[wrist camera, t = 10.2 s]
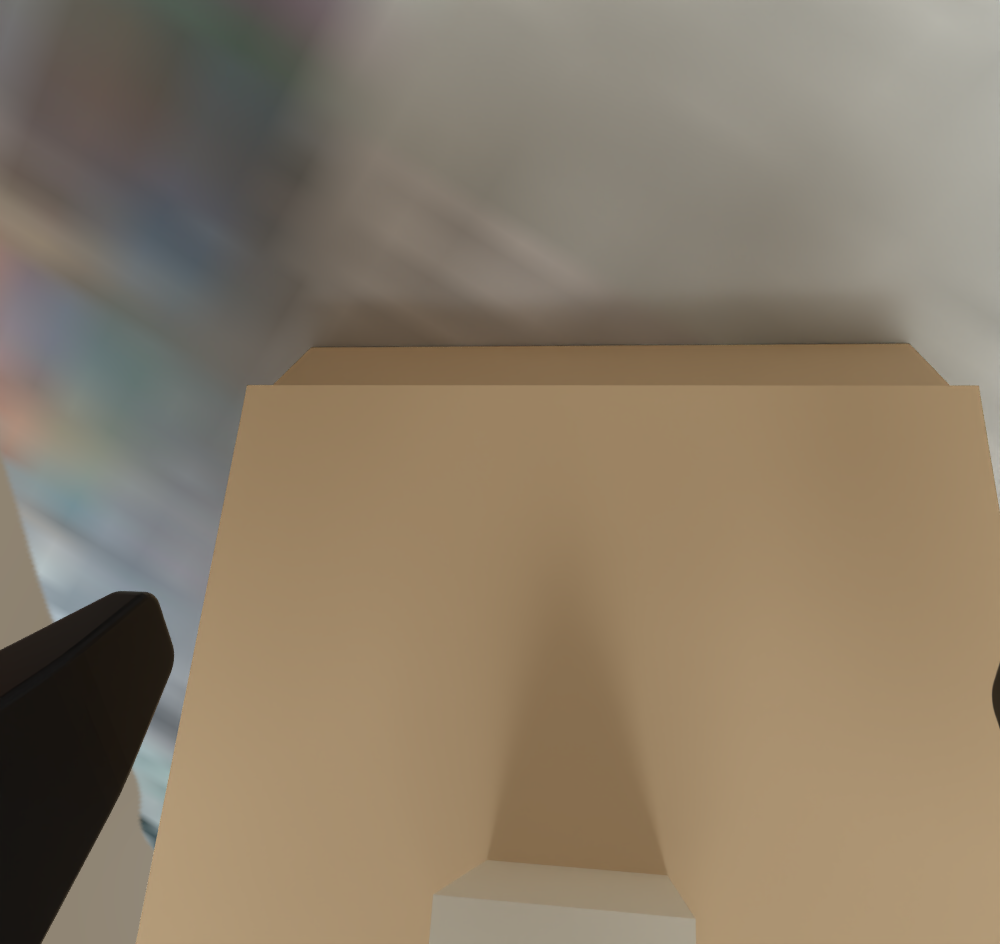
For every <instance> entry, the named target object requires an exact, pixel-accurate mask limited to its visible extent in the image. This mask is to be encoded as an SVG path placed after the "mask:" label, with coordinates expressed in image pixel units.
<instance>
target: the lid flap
mask: <svg viewBox="0 0 1000 944" xmlns="http://www.w3.org/2000/svg"><path fill="white" fill-rule="evenodd" d="M999 663H1000V511H999V505H998V499H997V493H996V487H995V481H994V475H993V469H992V463H991V457H990V451H989V445H988V439H987V433H986V427H985V421H984V415H983V409H982V403H981V397H980V391H979V386H750V385H247V389H246V394H245V399H244V404H243V409H242V414H241V419H240V424H239V429H238V434H237V439H236V444H235V449H234V454H233V459H232V464H231V469H230V474H229V479H228V484H227V489H226V494H225V499H224V504H223V509H222V514H221V519H220V524H219V529H218V534H217V539H216V544H215V549H214V554H213V559H212V564H211V569H210V574H209V579H208V584H207V589H206V594H205V599H204V604H203V609H202V614H201V619H200V624H199V629H198V634H197V639H196V644H195V649H194V654H193V659H192V664H191V669H190V674H189V679H188V684H187V689H186V694H185V699H184V704H183V709H182V714H181V719H180V724H179V729H178V734H177V739H176V744H175V749H174V754H173V759H172V764H171V769H170V774H169V779H168V784H167V789H166V794H165V799H164V804H163V809H162V814H161V819H160V824H159V829H158V834H157V839H156V844H155V849H154V854H153V859H152V864H151V869H150V874H149V880H148V884H147V889H146V894H145V900H144V904H143V909H142V915H141V919H140V925H139V929H138V934H137V939H136V944H1000V728H999V725H998V722H997V719H996V716H995V713H994V709H993V704H992V686H993V682H994V679H995V676H996V673H997V669H998V666H999Z"/></svg>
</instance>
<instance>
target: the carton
mask: <svg viewBox="0 0 1000 944" xmlns="http://www.w3.org/2000/svg"><path fill="white" fill-rule="evenodd" d="M273 385H750V386H950V385H949V384H948V383H947V382H946V381H945V380H944V379H943V378H942V377H941V376H940V375H939V374H938V373H937V372H936V371H935V370H934V369H933V367H932V366H931V365H930V364H929V363H928V362H927V361H926V360H925V359H924V358H923V357H922V356H921V355H920V354H919V353H918V352H917V351H916V350H915V349H914V348H913V347H912V346H911V345H910V344H774V345H619V346H464V347H311V348H310V349H309V350H308V351H307V352H306V353H305V354H304V355H303V356H302V357H301V358H300V359H299V360H298V361H297V362H296V363H295V364H294V365H293V366H292V367H291V368H290V369H289V370H288V371H287V372H286V373H285V374H284V375H283V376H282V377H281V378H280V379H279V380H278V381H276V382H275V383H274V384H273Z"/></svg>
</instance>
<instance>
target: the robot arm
mask: <svg viewBox="0 0 1000 944" xmlns="http://www.w3.org/2000/svg"><path fill="white" fill-rule="evenodd" d="M173 662H174V649H173V645H172V642H171V638H170V635H169V632H168V629H167V626H166V623H165V620H164V617H163V614H162V611H161V608H160V604H159V602H158V600H157V599H156V597H155V596H154V595H153V594H151V593H148V592H134V591H118V592H114V593H111V594H109V595H107V596H105V597H103V598H101V599H99V600H97V601H95V602H94V603H92V604H90V605H88V606H86V607H84V608H82V609H80V610H78V611H76V612H74V613H72V614H70V615H68V616H66V617H64V618H62V619H60V620H58V621H56V622H54V623H52V624H50V625H49V626H47V627H45V628H43V629H41V630H39V631H37V632H35V633H33V634H31V635H29V636H27V637H25V638H23V639H21V640H19V641H17V642H16V643H13V644H12V645H9V646H7V647H6V648H4V649H2V650H0V944H41V943H42V941H43V939H44V937H45V936H46V934H47V932H48V930H49V928H50V926H51V924H52V922H53V921H54V919H55V917H56V915H57V913H58V911H59V909H60V907H61V906H62V904H63V902H64V900H65V898H66V896H67V894H68V892H69V890H70V889H71V887H72V885H73V883H74V881H75V879H76V877H77V875H78V873H79V872H80V870H81V868H82V866H83V864H84V862H85V860H86V858H87V857H88V855H89V853H90V851H91V849H92V847H93V845H94V843H95V841H96V840H97V838H98V836H99V834H100V832H101V830H102V828H103V826H104V824H105V823H106V821H107V819H108V817H109V815H110V813H111V811H112V809H113V807H114V805H115V803H116V801H117V799H118V797H119V795H120V793H121V791H122V789H123V787H124V784H125V782H126V780H127V778H128V776H129V773H130V771H131V769H132V766H133V764H134V761H135V759H136V756H137V754H138V752H139V749H140V747H141V744H142V742H143V739H144V737H145V734H146V732H147V730H148V727H149V725H150V722H151V720H152V717H153V715H154V712H155V710H156V707H157V705H158V703H159V700H160V698H161V695H162V693H163V690H164V688H165V685H166V683H167V681H168V678H169V676H170V673H171V670H172V667H173ZM992 704H993V709H994V713H995V716H996V719H997V722H998V725H999V728H1000V663H999V666H998V669H997V673H996V676H995V679H994V682H993V686H992Z"/></svg>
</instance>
